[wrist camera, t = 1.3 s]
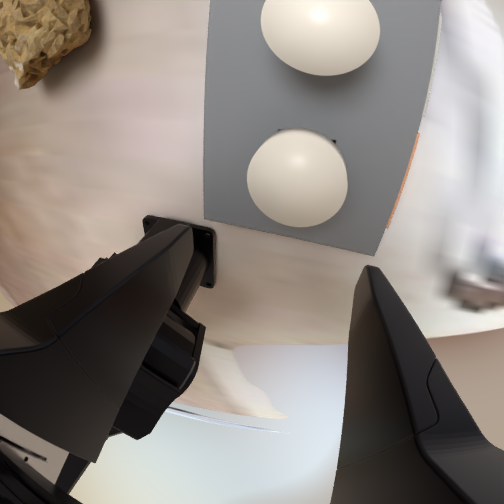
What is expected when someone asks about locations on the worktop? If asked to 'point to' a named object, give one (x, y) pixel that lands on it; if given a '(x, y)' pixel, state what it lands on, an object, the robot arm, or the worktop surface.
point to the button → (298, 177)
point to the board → (317, 116)
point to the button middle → (321, 33)
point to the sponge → (40, 35)
